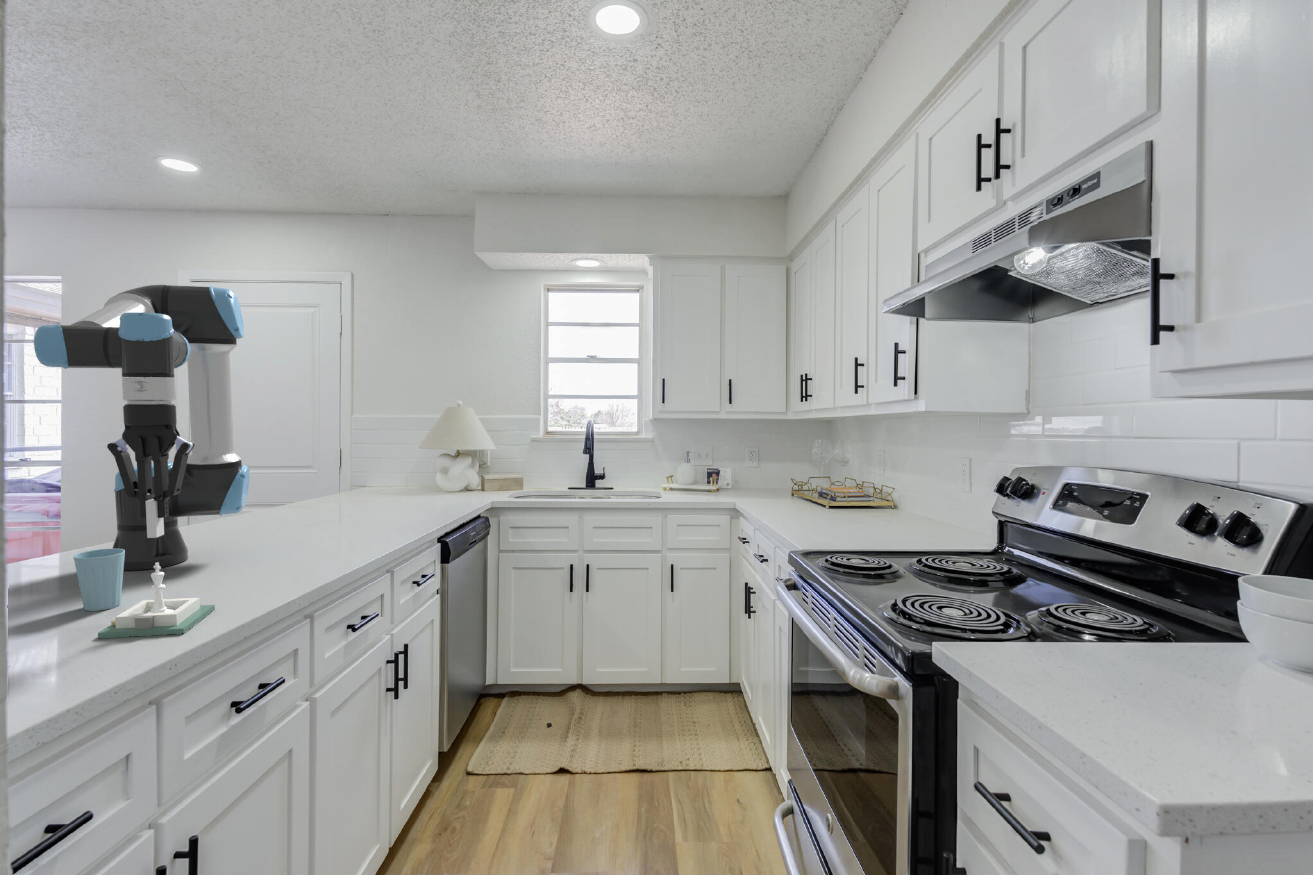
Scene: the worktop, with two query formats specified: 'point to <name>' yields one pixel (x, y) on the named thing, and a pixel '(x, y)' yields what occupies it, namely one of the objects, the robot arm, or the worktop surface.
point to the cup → (100, 578)
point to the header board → (157, 619)
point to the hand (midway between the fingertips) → (155, 535)
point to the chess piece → (158, 591)
